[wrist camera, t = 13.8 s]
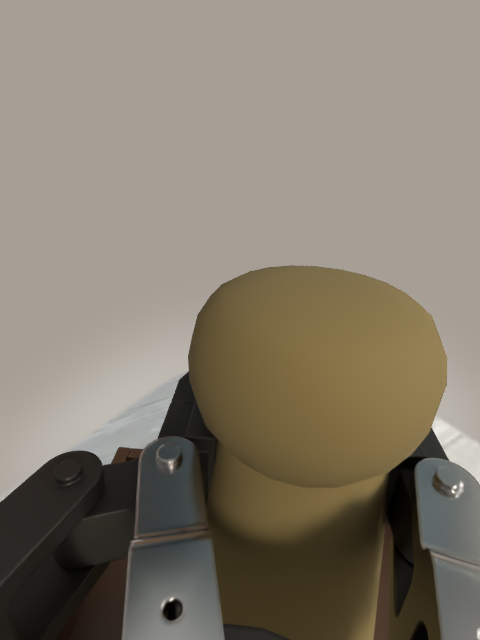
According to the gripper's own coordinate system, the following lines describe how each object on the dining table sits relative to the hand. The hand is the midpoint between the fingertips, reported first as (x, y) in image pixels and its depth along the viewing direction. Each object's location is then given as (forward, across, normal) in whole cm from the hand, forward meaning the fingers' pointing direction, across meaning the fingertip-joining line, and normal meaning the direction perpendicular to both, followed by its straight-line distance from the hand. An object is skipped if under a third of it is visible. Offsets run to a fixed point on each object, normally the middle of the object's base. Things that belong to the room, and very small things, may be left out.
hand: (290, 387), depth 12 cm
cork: (-3, 0, +7) cm, 7 cm away
